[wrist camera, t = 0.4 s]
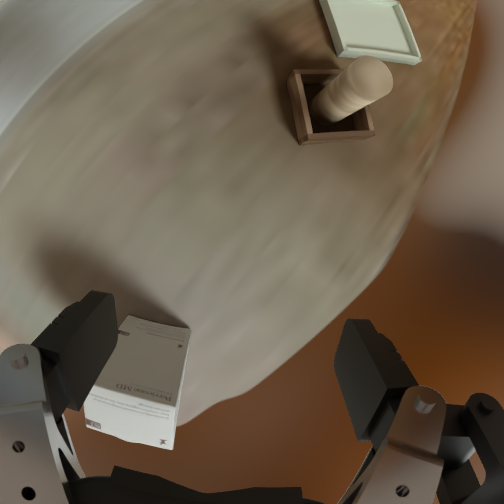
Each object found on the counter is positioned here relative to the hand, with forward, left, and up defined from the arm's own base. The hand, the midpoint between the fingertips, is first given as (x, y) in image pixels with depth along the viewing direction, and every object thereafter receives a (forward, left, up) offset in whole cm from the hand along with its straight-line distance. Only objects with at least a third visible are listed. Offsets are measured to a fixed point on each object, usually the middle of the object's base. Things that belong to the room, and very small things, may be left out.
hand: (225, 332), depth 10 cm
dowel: (-13, +15, -24) cm, 31 cm away
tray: (-26, +25, -24) cm, 44 cm away
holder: (-13, +15, -24) cm, 31 cm away
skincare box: (+11, -10, -24) cm, 28 cm away
